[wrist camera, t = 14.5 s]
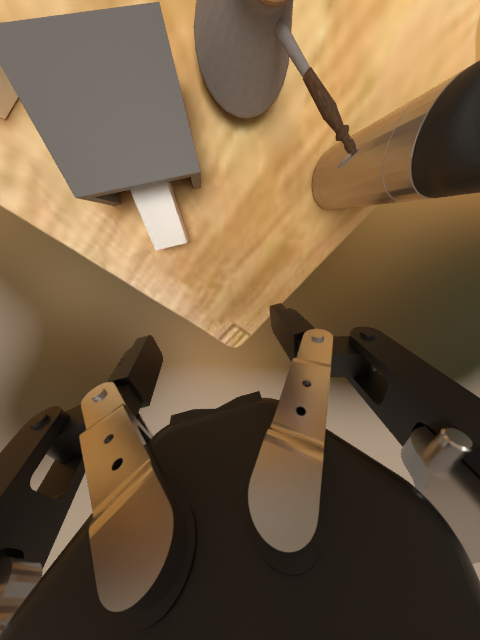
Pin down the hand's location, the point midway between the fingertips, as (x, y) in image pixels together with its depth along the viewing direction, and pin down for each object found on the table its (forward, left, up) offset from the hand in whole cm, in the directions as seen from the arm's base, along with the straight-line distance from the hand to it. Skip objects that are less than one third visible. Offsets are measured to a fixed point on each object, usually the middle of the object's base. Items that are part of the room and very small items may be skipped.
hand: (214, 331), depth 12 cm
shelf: (+4, -17, -26) cm, 31 cm away
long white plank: (+4, -12, -26) cm, 29 cm away
